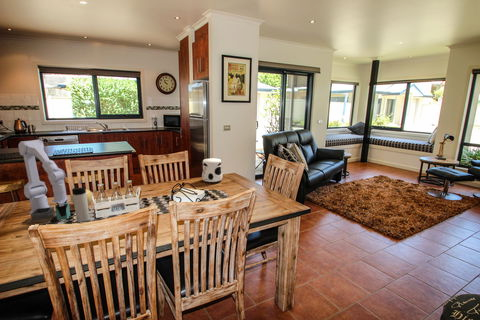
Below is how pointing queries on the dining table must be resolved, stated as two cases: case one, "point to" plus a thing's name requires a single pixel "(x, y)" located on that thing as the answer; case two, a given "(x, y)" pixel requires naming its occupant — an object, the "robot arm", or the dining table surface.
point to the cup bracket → (42, 213)
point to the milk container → (212, 170)
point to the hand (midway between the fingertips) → (63, 213)
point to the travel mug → (81, 204)
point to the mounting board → (41, 220)
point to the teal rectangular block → (63, 216)
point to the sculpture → (89, 197)
